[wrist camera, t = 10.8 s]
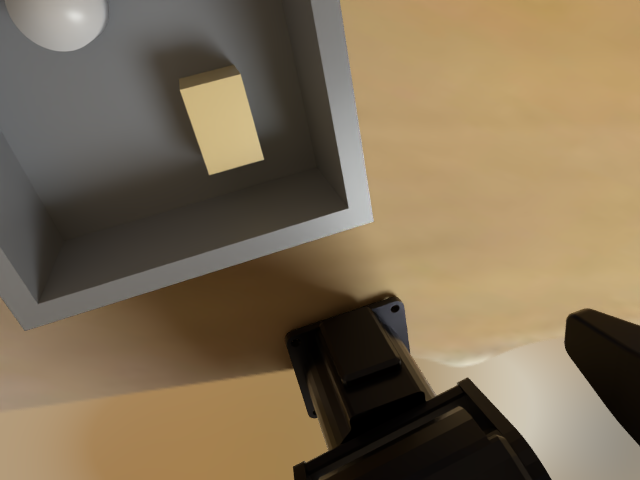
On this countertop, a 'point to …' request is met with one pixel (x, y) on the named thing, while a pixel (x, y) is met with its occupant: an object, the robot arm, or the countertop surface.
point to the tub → (167, 143)
